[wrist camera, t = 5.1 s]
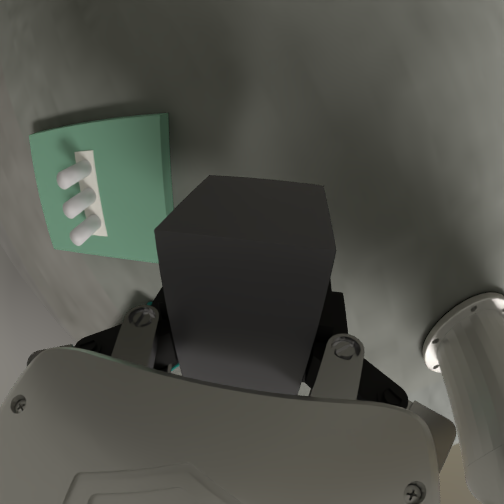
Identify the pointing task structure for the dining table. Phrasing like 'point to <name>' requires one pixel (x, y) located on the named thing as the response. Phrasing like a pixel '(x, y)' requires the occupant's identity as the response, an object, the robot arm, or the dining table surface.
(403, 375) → the dining table surface
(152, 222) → the board
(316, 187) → the block
